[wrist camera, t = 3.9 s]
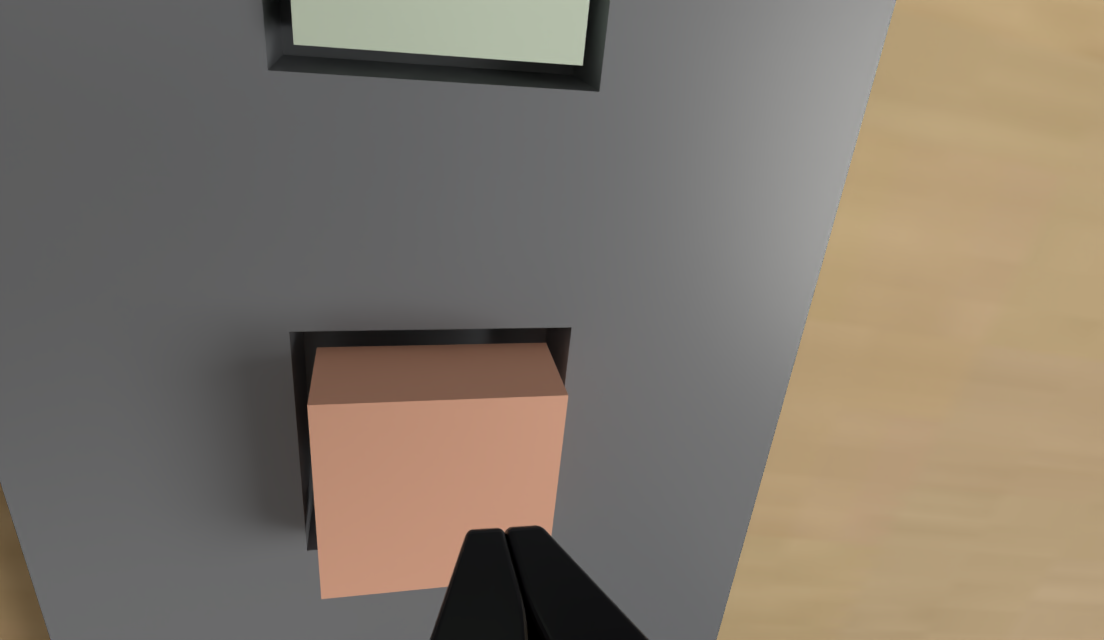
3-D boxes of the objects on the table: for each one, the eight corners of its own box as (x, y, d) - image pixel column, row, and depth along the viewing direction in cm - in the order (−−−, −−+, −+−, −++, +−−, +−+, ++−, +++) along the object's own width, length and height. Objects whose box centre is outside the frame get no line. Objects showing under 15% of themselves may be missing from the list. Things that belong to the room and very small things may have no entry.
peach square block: (528, 511, 16) (546, 577, 15) (328, 526, 15) (321, 599, 14) (546, 342, 15) (568, 395, 13) (316, 347, 13) (307, 405, 12)
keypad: (637, 733, 26) (666, 819, 24) (167, 806, 23) (139, 917, 20) (906, -439, 12) (1049, -546, 10) (-226, -749, 9) (-492, -1057, 6)
